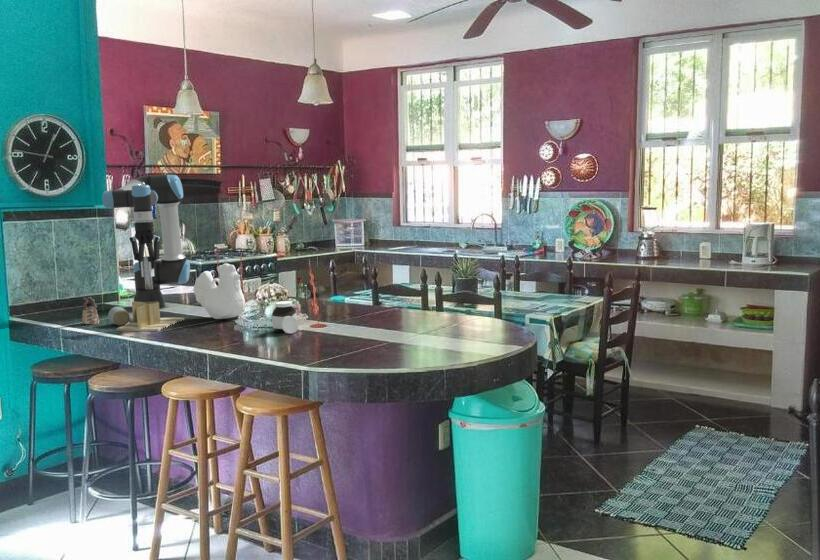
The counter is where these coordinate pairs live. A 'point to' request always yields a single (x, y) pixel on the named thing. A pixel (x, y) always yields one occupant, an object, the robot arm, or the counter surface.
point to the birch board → (163, 323)
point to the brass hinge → (146, 313)
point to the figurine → (89, 312)
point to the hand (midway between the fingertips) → (148, 276)
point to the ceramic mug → (119, 316)
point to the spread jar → (284, 317)
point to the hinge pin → (147, 273)
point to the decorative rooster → (220, 292)
